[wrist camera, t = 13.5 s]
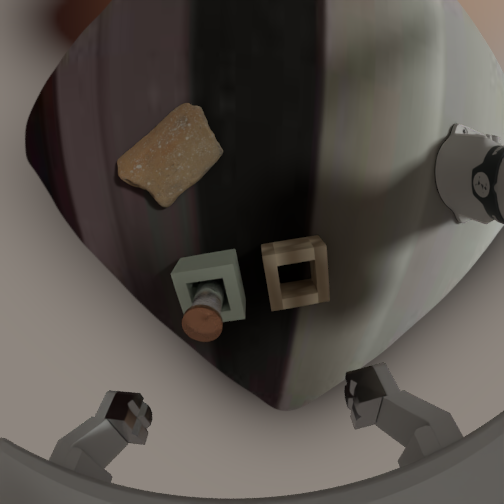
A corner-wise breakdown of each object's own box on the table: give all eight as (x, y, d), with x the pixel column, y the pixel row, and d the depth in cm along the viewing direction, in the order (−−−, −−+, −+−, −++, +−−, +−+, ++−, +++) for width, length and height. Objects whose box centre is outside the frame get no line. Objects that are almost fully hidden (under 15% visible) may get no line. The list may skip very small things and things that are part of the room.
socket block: (235, 248, 42) (232, 263, 37) (245, 298, 45) (245, 318, 40) (180, 258, 43) (170, 273, 37) (194, 305, 46) (187, 325, 40)
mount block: (318, 234, 42) (326, 245, 37) (322, 285, 45) (329, 300, 40) (260, 244, 42) (262, 256, 37) (269, 295, 45) (271, 311, 40)
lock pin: (226, 262, 43) (216, 306, 31) (232, 290, 45) (226, 339, 33) (195, 267, 43) (176, 311, 31) (203, 294, 45) (188, 343, 33)
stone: (117, 161, 38) (108, 163, 35) (194, 97, 34) (189, 93, 31) (156, 215, 41) (149, 220, 38) (236, 154, 38) (235, 155, 35)
